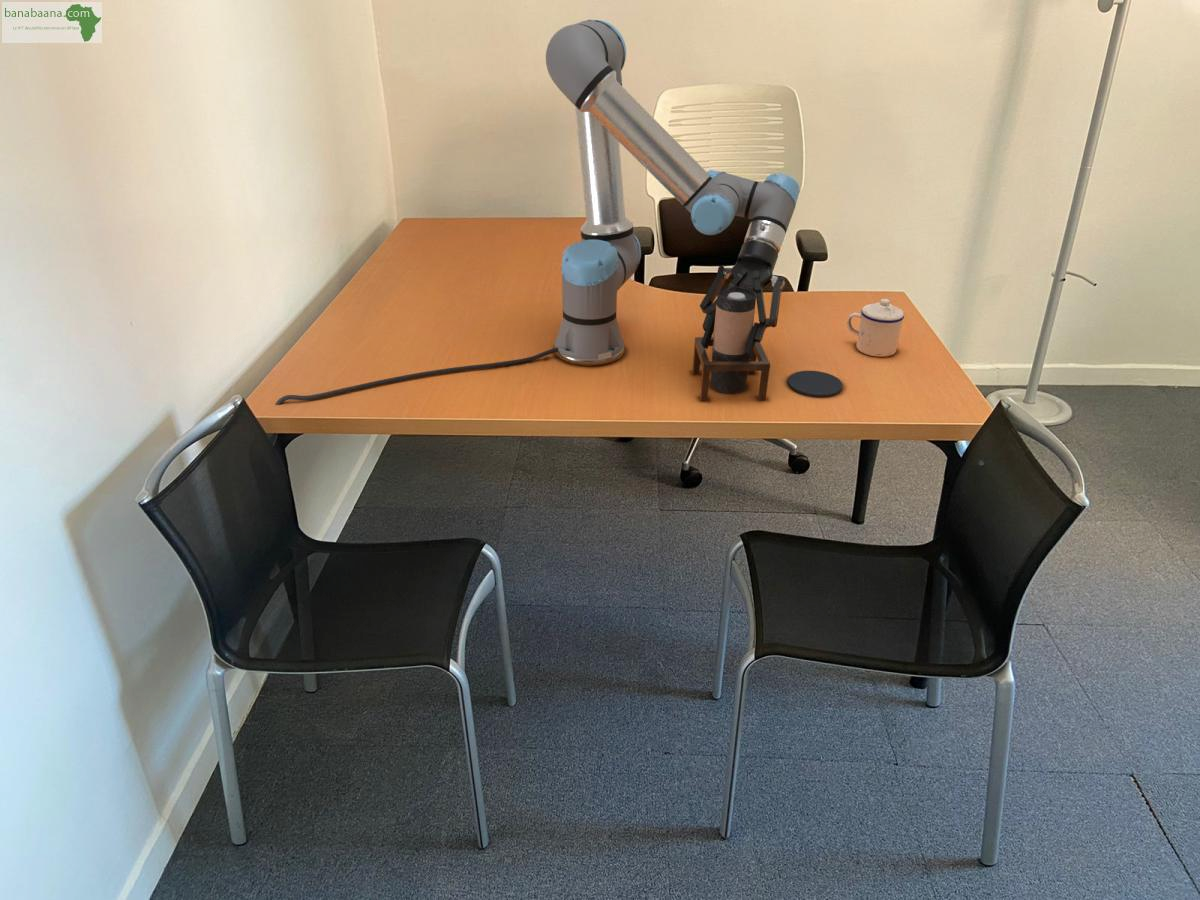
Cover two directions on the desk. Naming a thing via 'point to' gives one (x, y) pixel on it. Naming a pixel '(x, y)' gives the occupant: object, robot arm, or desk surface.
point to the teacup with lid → (878, 328)
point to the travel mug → (732, 336)
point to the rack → (730, 367)
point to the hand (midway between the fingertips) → (725, 350)
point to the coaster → (815, 383)
